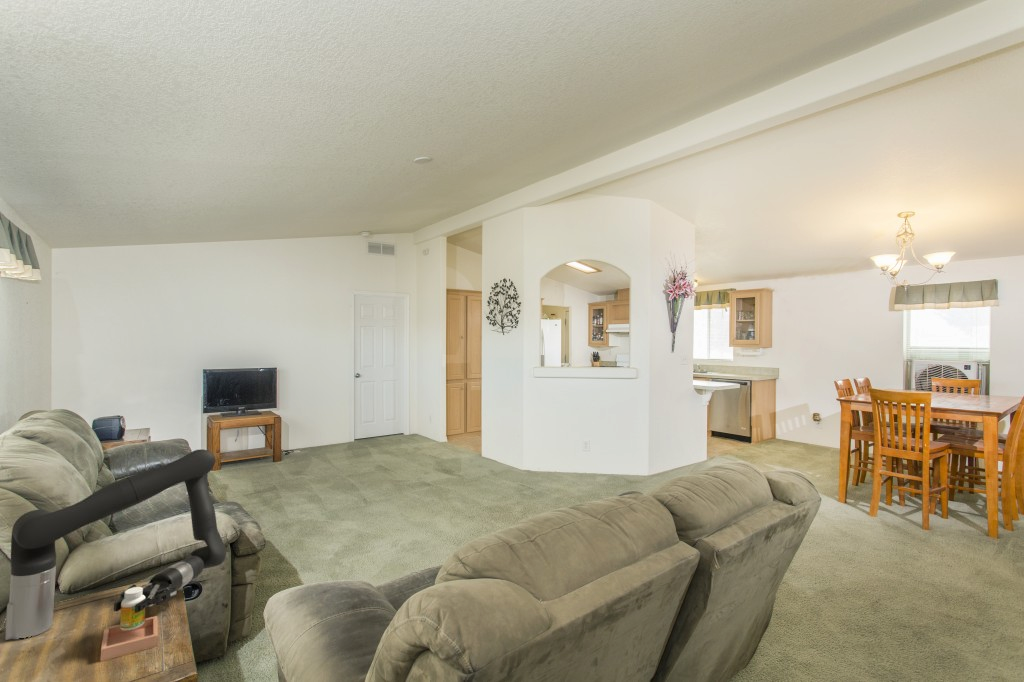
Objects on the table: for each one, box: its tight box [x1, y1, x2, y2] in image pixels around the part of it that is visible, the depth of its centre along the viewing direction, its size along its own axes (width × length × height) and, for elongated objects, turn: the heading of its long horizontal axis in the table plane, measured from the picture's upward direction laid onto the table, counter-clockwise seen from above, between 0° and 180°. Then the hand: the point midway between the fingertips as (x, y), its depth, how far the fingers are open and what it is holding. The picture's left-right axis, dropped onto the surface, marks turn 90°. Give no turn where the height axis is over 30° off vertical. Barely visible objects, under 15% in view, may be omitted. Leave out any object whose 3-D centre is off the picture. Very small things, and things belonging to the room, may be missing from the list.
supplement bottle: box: [119, 586, 146, 630], centre depth 136 cm, size 5×5×10 cm
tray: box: [100, 615, 159, 662], centre depth 136 cm, size 12×12×3 cm
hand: (125, 608), depth 134 cm, fingers closed on supplement bottle, 5 cm apart
